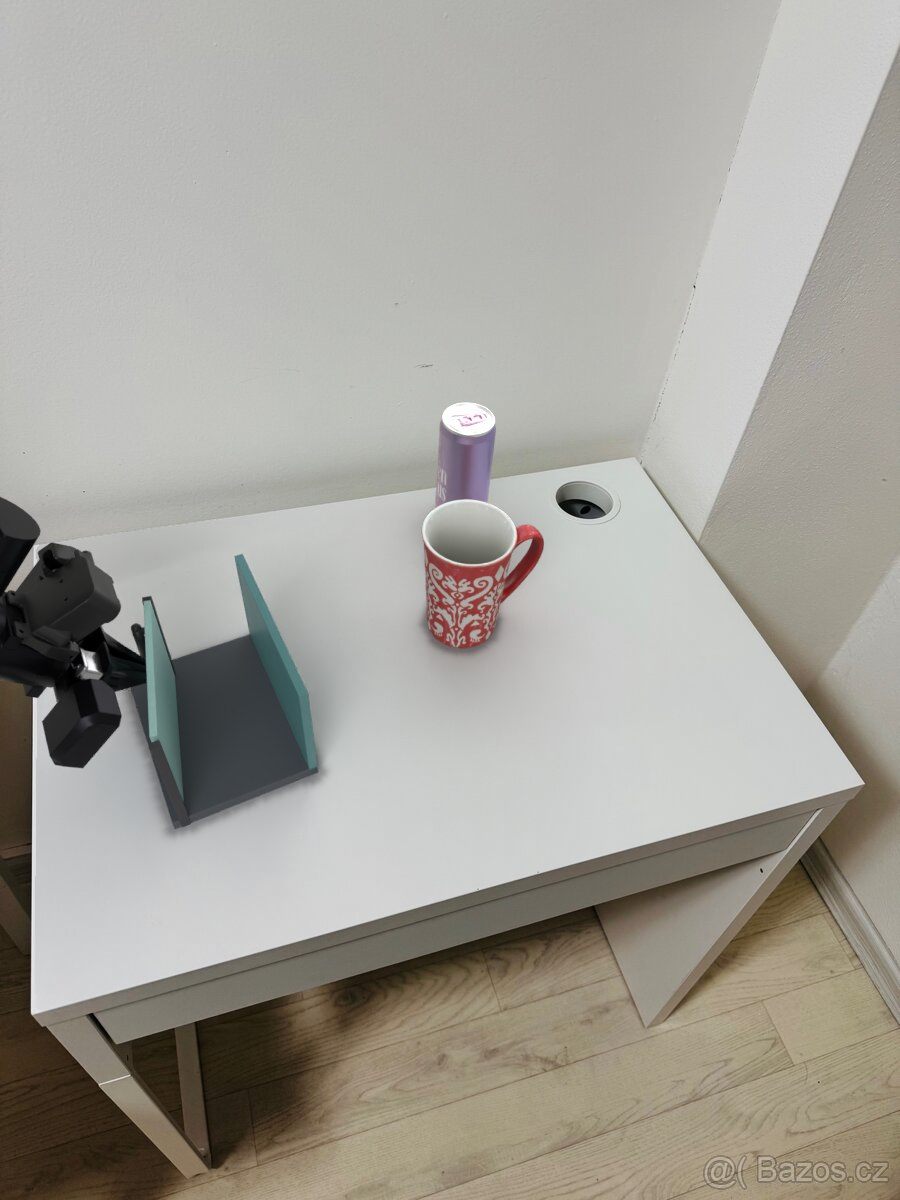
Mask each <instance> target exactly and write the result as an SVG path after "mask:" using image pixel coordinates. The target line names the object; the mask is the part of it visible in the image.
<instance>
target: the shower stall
mask: <svg viewBox="0 0 900 1200" xmlns="http://www.w3.org/2000/svg"><path fill="white" fill-rule="evenodd" d="M234 562H235V568H236V571H237V578H238V583H239V587H240V592H241V597H242V602H243V607H244V612H245V618H246V623H247V626H248V627H247V628H248V632H249V634H247V635H243V636H240V637H238V638H234V639H231V640H228V641H225V642H222V643H219V644H216V645H213V646H210V647H208V648H204V649H201V650H198V651H195V652H192V653H189V654H185V655H182V656H180V657H176V658H174V659H173V658H172V662H173V665H174V668H175V671H176V676H175V685H176V699H177V713H178V727H179V742H180V756H181V770H182V784H183V798H184V802H183V800H182V797H181V794H180V792H179V789H178V787H177V784H176V781H175V779H174V776H173V774H172V771H171V768H170V766H169V763H168V761H167V758H166V755H165V753H164V750H163V748H162V745H161V742H160V740H157V741H154V742H151V739H150V737H149V718H148V695H147V683H145V684H141V685H138V686H134V687H131V688H129V689H130V692H131V694H132V698H133V701H134V704H135V708H136V711H137V715H138V717H139V720H140V724H141V728H142V730H143V733H144V737H145V740H146V743H147V747H148V750H149V753H150V756H151V759H152V763H153V766H154V770H155V772H156V775H157V778H158V782H159V785H160V788H161V791H162V795H163V799H164V801H165V805H166V808H167V811H168V815H169V816H170V817H169V818H170V820H171V824H172V825H173V826H172V827H173V828H174V830H177V829H179V828H185V827H187V826H189V825H191V824H192V823H194V822H197V821H199V820H202V819H205V818H207V817H209V816H212V815H214V814H217V813H219V812H222V811H225V810H227V809H229V808H232V807H235V806H237V805H240V804H243V803H244V802H247V801H250V800H253V799H255V798H256V797H260V796H262V795H265V794H268V793H270V792H272V791H275V790H278V789H280V788H283V787H286V786H288V785H289V784H293V783H295V782H298V781H300V780H302V779H305V778H307V777H310V776H313V775H315V774H318V773H319V769H318V768H319V767H318V762H317V759H318V758H317V753H316V744H315V735H314V728H313V721H312V713H311V712H312V711H311V704H310V697H309V692H308V690H307V687H306V685H305V683H304V681H303V679H302V676H301V674H300V673H299V670H298V669H297V666H296V664H295V662H294V660H293V658H292V655H291V654H290V651H289V650H288V647H287V645H286V643H285V641H284V639H283V636H282V634H281V631H280V630H279V628H278V625H277V623H276V621H275V620H274V617H273V615H272V613H271V611H270V609H269V607H268V604H267V603H266V600H265V598H264V596H263V594H262V592H261V590H260V588H259V585H258V583H257V581H256V579H255V577H254V575H253V572H252V571H251V568H250V566H249V564H248V562H247V560H246V557H245V556H244V554H243V553H240V554H237V555H234Z"/></svg>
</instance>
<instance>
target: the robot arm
mask: <svg viewBox="0 0 900 1200" xmlns="http://www.w3.org/2000/svg"><path fill="white" fill-rule="evenodd" d="M41 531H42V530H41V527H40V525H39V524H38V522H37V521H36V520H35V519H34V518H33V517H32V516H31V514H29V513H28V512H27V511H25V510H24V509H23V508H21V507H20V506H19V505H17V504H16V503H14V502H12V501H10V500H8V499H6V498H4V497H2V496H0V681H3V682H8V683H13V684H19V685H23V691H24V695H25V697H29V698H35V699H39V698H40V697H41V696H42V694H43V692H44V691H45V690H46V689H47V688H49V689H51V688H53V693H54V698H55V701H56V702H55V703H56V704H54V706H52V708H51V710H50V711H49V712H48V713H47V715H46V716H45V717H43V719H42V720H41V723H42V728H43V733H44V735H45V736H44V737H45V741H46V746H47V750H48V755H49V757H50V759H51V761H52V762H53V765H55V766H59V767H65V768H72V769H73V768H75V769H84V768H85V767H86V766H87V764H88V763H89V762H90V761H91V760H92V759H93V758H94V756H96V754H97V753H98V751H100V749H101V748H102V747H103V746H104V745H105V743H106V742H107V741H108V740H109V739H110V738H111V737H112V736H113V735H114V733H115V732H116V731H117V730H118V729H119V727H120V725H121V721H122V717H123V715H122V710H121V707H120V705H119V701H118V698H117V693H116V692H120V691H123V690H127V689H130V688H131V687H134V686H138V685H141V684H145V683H147V673H146V659H145V658H143V657H142V656H140V654H139V653H137V652H135V651H134V650H132V649H131V648H129V647H127V646H125V644H123V643H121V642H120V641H118V640H117V639H115V638H114V637H112V636H111V635H110V634H109V633H107V632H106V630H104V627H103V625H105V624H110V623H111V622H113V621H114V620H115V619H116V618H117V617H118V616H119V614H120V613H121V611H122V603H121V600H120V599H119V598H118V594H117V592H116V589H115V586H114V584H115V582H114V579H113V577H112V576H110V575H109V574H108V573H106V572H105V571H104V570H102V569H101V568H100V567H98V566H97V565H96V564H95V560H94V557H93V554H92V552H91V551H90V550H83V551H82V550H80V549H79V548H77V547H74V546H71V545H66V544H61V543H56V542H49V543H48V544H47V545H45V546H44V547H42V548H41V549H39V550H38V551H37V555H38V561H37V562H36V563H35V564H34V566H33V567H32V568H31V570H30V571H29V573H28V574H27V575H26V577H25V578H24V579H23V581H22V582H21V583H20V584H19V586H18V587H17V589H16V590H11V589H9V590H8V591H6V590H7V588H8V587H9V585H11V582H12V580H13V579H14V577H15V576H16V575H17V573H18V571H19V569H20V568H21V566H22V565H23V563H24V562H25V559H26V558H27V557H28V555H29V553H30V552H31V550H32V548H33V547H34V546H35V544H36V542H37V541H38V538H40V535H41Z"/></svg>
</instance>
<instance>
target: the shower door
mask: <svg viewBox="0 0 900 1200" xmlns="http://www.w3.org/2000/svg"><path fill="white" fill-rule="evenodd" d="M141 602H142V606H143V621H144V622H143V623H144V625H143V627H142V625H141V624H140V623H137V622H135V623H132V624H131V626H130V631H131V634H132V636H133V639H134V642H135V645H136V648H137V650H138V654H139V655H140V656H142V657H143V658H145V659H146V673H147V695H148V718H149V737H150V739H151V742H154V741H157V740H160V742H161V745H162V748H163V750H164V753H165V755H166V758H167V761H168V763H169V766H170V768H171V771H172V774H173V776H174V779H175V781H176V784H177V787H178V789H179V792H180V794H181V797H182V800H183V802H184V798H183V784H182V770H181V756H180V742H179V727H178V713H177V699H176V685H175V676H176V671H175V668H174V665H173V662H172V660H173V658H172V656H171V652H170V649H169V646H168V642H167V640H166V636H165V633H164V631H163V627H162V625H161V622H160V618H159V615H158V612H157V608H156V606H155V603H154V599H153V597H152V595H147V596H142V597H141Z"/></svg>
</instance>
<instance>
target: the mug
mask: <svg viewBox="0 0 900 1200" xmlns="http://www.w3.org/2000/svg"><path fill="white" fill-rule="evenodd" d="M421 538H422V542H423V552H424V553H423V555H424V576H425V601H426V622H427V626H428V630H429V632H430V633H431V635H432V636H433V637H434V638H435V639H436V640H437V641H438V642H440V643H441V644H443V645H445V646H448V647H452V648H457V649H467V648H468V649H469V648H474V647H477V646H480V645H482V644H483V643H484V642H486V641H487V640H488V639H489V638H490V637H491V636H492V635H493V633H494V632H495V628H496V625H497V622H498V615H499V611H500V607H501V604H503V602H505V600H507V599H508V598H509V597H510V596H511V595H512V594H513V593H514V592H515V591H516V590H517V589H518V588H519V587H520V586H521V584H522V583H523V582H524V581H525V580H526V579H527V578H528V576H529V575H530V574H531V572H533V570H534V569H535V568H536V566H537V564H538V563H539V561H540V559H541V557H542V554H543V553H544V548H545V540H544V537H543V534H542V533H541V532H540V531H539V529H537V528H536V526H534V525H532V524H521V525H518V526H516V525H515V522H514V521H513V520H512V518H511V517H510V516H509V515H508V514H507V513H506V512H505V511H503V510H502V509H501V508H499V507H498V506H496V505H494V504H492V503H489V502H488V503H486V502H482V501H478V500H455V501H451V502H447V503H444V504H442V505H440V506H438V507H436V508H435V507H434V508H433V509H432V510H431V511H429V513H428V514H426V516H425V518H424V520H423V522H422V524H421ZM529 540H531V543H530V545H529V547H528V549H527V551H526V552H525V554H524V556H523V557H522V558H521V560H520V561H519V562H518V563H517V564H516V566H515V567H514V568H513V569H512V570H511V571H510V572H509V568H510V564H511V560H512V556H513V555H512V554H513V553H514V551H515V550H516V548H518V547H519V546H520V545H522V544H523V543H525V542H526V541H529ZM508 572H509V573H508Z"/></svg>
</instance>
